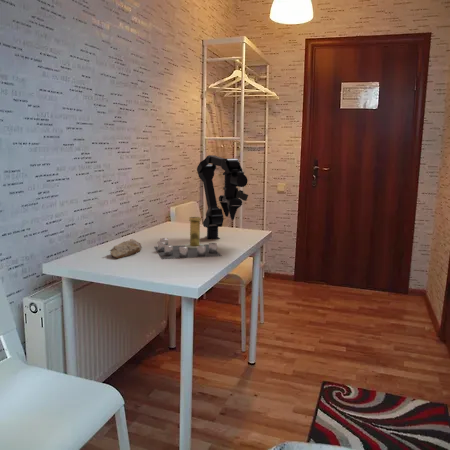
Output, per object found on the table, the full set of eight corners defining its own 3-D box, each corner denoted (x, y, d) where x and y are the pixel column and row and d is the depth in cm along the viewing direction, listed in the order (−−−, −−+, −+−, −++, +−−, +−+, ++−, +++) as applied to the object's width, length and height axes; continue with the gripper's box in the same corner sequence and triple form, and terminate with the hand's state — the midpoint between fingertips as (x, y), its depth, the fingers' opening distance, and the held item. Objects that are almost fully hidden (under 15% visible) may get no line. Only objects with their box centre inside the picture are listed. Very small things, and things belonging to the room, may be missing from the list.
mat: (153, 247, 205) (153, 246, 205) (208, 245, 212) (208, 244, 212) (161, 260, 182) (161, 259, 182) (222, 257, 190) (222, 256, 190)
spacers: (162, 246, 206) (162, 237, 205) (218, 252, 197) (218, 243, 196) (145, 253, 192) (145, 244, 191) (204, 260, 182) (204, 250, 182)
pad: (183, 244, 210) (183, 243, 209) (201, 244, 212) (201, 242, 212) (187, 249, 201) (187, 247, 201) (206, 248, 204) (206, 247, 204)
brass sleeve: (187, 244, 208) (188, 216, 206) (199, 243, 210) (199, 216, 208) (190, 246, 203) (190, 218, 201) (201, 246, 205) (202, 218, 203)
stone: (131, 237, 204) (147, 233, 198) (136, 251, 204) (152, 246, 199) (98, 251, 186) (114, 246, 181) (104, 265, 187) (120, 261, 182)
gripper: (253, 187, 202) (252, 220, 205) (240, 183, 220) (239, 214, 222) (230, 187, 199) (229, 221, 202) (218, 183, 217) (218, 215, 219)
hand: (229, 218), depth 211 cm, fingers open, 9 cm apart
